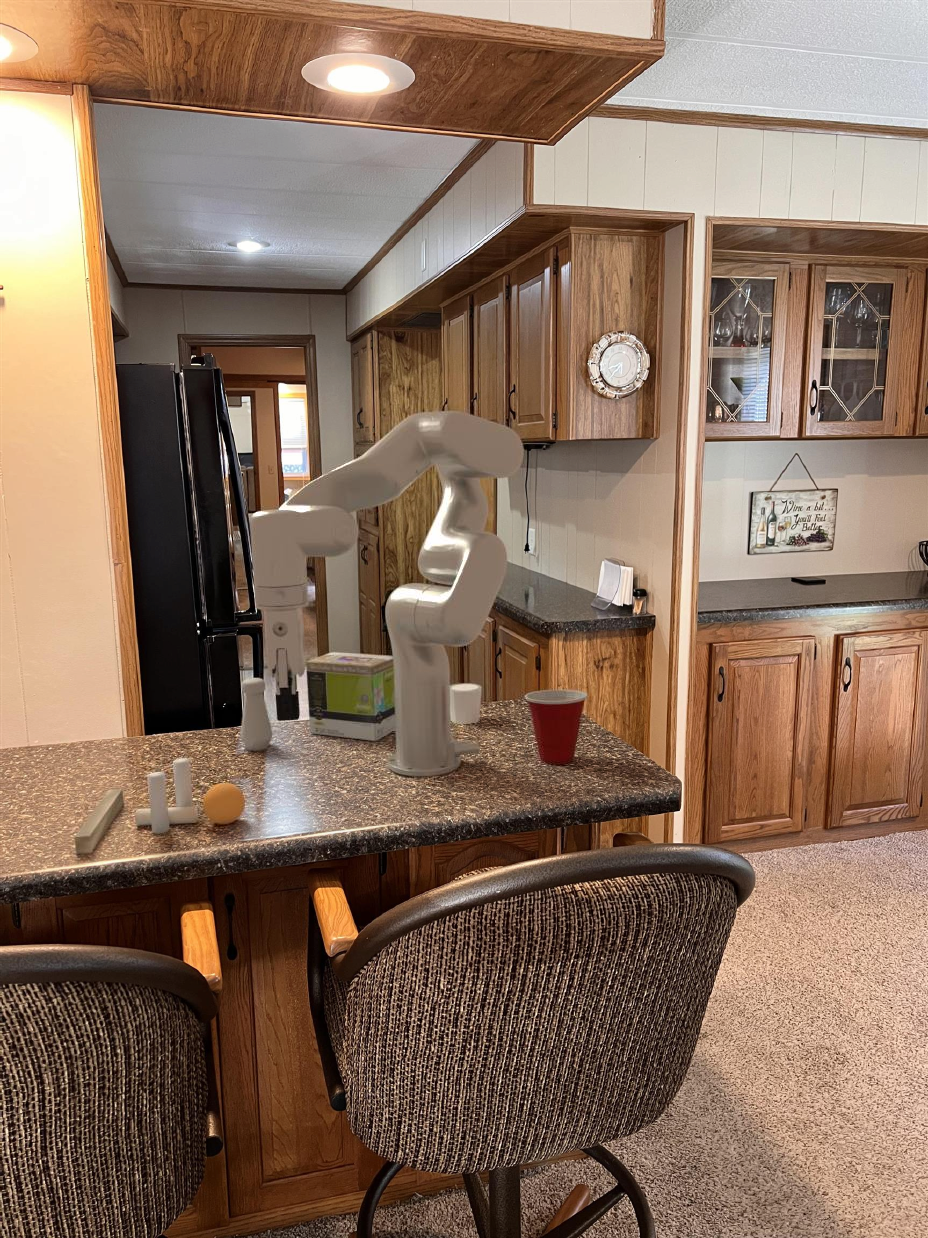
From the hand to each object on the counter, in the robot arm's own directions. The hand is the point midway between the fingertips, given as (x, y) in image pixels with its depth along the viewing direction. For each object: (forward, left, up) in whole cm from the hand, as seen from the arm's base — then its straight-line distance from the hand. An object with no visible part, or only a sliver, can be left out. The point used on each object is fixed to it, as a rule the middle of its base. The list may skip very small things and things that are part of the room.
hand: (288, 718), depth 136 cm
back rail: (+28, 0, -15) cm, 32 cm away
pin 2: (+17, -3, -15) cm, 23 cm away
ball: (+10, +1, -12) cm, 16 cm away
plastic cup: (-44, -18, -15) cm, 50 cm away
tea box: (-9, -41, -15) cm, 45 cm away
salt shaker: (+9, -34, -15) cm, 38 cm away
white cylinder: (-31, -44, -15) cm, 56 cm away
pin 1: (+19, +3, -15) cm, 24 cm away
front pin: (+14, 0, -14) cm, 20 cm away
